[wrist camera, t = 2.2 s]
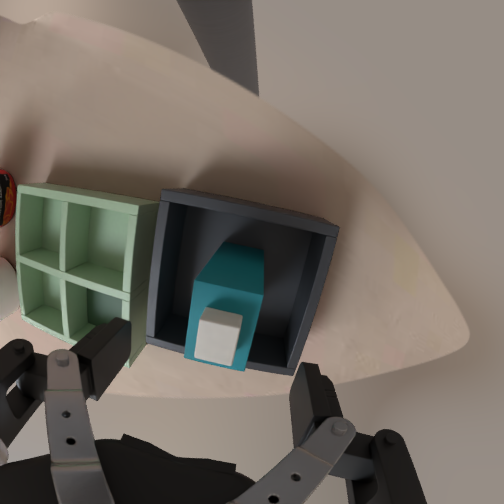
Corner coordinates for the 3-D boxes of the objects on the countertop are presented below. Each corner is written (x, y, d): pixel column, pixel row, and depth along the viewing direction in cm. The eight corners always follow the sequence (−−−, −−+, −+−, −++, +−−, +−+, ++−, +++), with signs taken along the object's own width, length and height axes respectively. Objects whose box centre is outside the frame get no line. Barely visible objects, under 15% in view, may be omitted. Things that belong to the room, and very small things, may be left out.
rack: (45, 182, 24) (17, 184, 20) (160, 201, 24) (139, 205, 20) (43, 305, 28) (21, 319, 23) (145, 345, 28) (129, 368, 23)
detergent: (223, 241, 24) (186, 289, 13) (264, 250, 24) (263, 307, 13) (213, 294, 25) (177, 372, 14) (252, 302, 25) (242, 388, 14)
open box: (183, 188, 24) (161, 188, 18) (323, 218, 24) (340, 226, 19) (165, 315, 27) (145, 343, 21) (288, 342, 27) (293, 376, 21)
